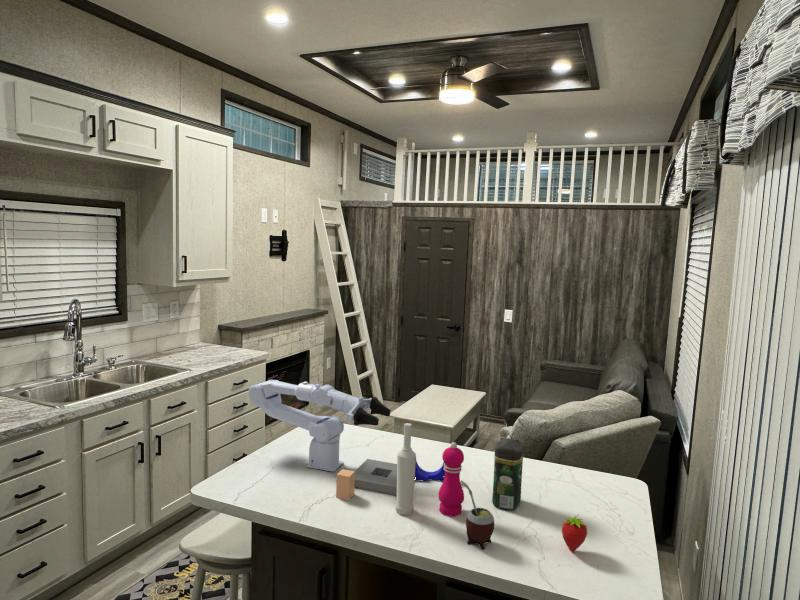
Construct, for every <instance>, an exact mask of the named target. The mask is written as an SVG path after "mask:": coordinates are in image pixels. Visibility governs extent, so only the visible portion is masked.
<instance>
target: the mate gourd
mask: <svg viewBox="0 0 800 600" xmlns="http://www.w3.org/2000/svg"><path fill="white" fill-rule="evenodd" d="M460 483H462V485H464V487H465V488H466V489H467V491H468V493H469V496H470V499H471V502H472V506H473V508H471V510H470V511H469V512H468V513H467V516H466V522H465V529H466V536H467V541H466V543H467V545H478V546H479V547H480V549H481V550H485V549H486V547H485V544H490V543H492V539H491V537H492V535H493V533H494V531H495V517H494V515H493V514H492V512H491V511H490V510H489V509H487V508H485V507H476V502H475V500H474V496H473V491H472V490H471V488H470V487H469V485H467V483H465V482H464V481H463V480H462V479H460Z"/></svg>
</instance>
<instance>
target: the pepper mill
mask: <svg viewBox="0 0 800 600" xmlns="http://www.w3.org/2000/svg"><path fill="white" fill-rule="evenodd" d="M441 457H442V461H443V462H445V463H444V470H445V478H444V481H442V484H441V485H440V487H439V490H438V495H437V497H438V500H439V501H440V503H439V512H440V514H442V515H444V516H446V517H458V516H460V515H461V514H462V510H463V506H462V504H463V502H464V501H465V494H464V492H465V491H464V489H463V486H462V484H461V483H462V482H461V477H460V475H461V472H462V466H463V465H462V464H463V463H464V460H465V455H464V452H463V451H462V449H461V448H459V447H458V444H457V442H456V441H455V442H454V441H452V442H451V443H450V446H449V447H446V448H445V449H444V450H443V452H442V456H441Z"/></svg>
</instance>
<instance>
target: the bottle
mask: <svg viewBox="0 0 800 600" xmlns="http://www.w3.org/2000/svg"><path fill="white" fill-rule="evenodd" d="M412 428H413V427H412V423H410V422H409V423H408V422H406V423H404V424H403V446H402V448H401V450H400V451H398V452H397V455H396V457H397V458H396V459H397V462H396V464H397V495H396V503H395V506H394V507H395V511H396V513H397V514H398V515H401V516H410V515H411V514H413V513H414V508H415V505H414V493H415V491H414V490H415V480H414V479H415V463H416V461H417V454H416V452H415V451H414V450H413V448H412V447H411V445H412V444H411V443H412Z"/></svg>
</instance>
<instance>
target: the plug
mask: <svg viewBox="0 0 800 600" xmlns="http://www.w3.org/2000/svg"><path fill="white" fill-rule="evenodd" d="M354 484H355V470H350V469H344V468H342V469H341V470H339V472H338V473H336V488H335V490H336V491H335V497H336V498H337V499H342V500H347V501H349V500H350V499H352V497H353V496H354V495H355V487H354Z"/></svg>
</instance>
